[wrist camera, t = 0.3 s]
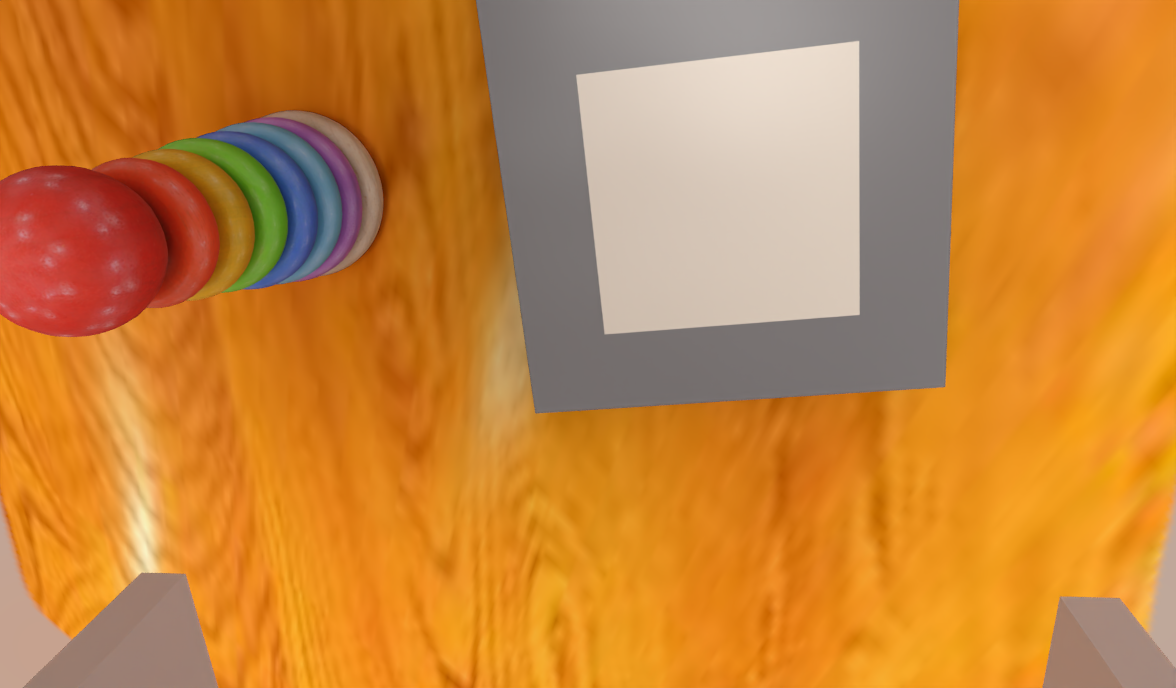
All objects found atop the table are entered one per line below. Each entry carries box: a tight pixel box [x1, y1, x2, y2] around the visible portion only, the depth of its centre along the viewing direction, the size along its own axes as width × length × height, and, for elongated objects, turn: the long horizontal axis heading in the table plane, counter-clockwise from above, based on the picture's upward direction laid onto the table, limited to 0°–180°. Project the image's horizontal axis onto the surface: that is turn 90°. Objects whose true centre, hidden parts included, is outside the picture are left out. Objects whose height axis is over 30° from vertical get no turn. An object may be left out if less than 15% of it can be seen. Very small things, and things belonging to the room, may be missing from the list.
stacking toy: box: [0, 110, 384, 337], centre depth 30 cm, size 8×8×19 cm
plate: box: [476, 0, 959, 413], centre depth 36 cm, size 20×20×2 cm
